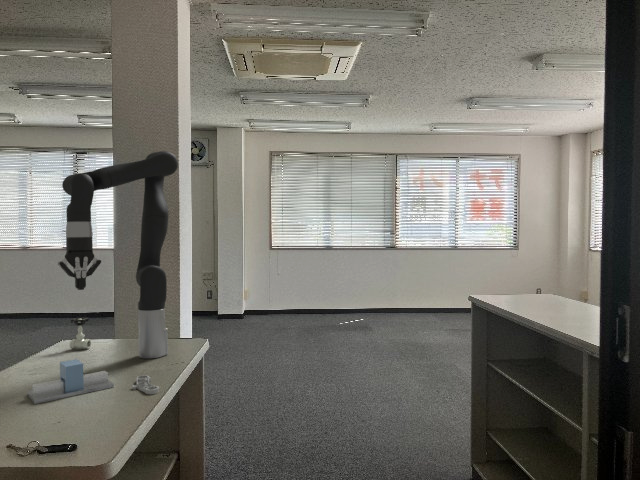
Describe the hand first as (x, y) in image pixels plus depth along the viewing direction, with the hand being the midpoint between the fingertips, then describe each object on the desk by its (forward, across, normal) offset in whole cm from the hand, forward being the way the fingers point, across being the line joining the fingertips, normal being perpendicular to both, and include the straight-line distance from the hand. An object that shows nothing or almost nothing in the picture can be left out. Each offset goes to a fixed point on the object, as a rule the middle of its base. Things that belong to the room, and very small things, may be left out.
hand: (80, 289), depth 150 cm
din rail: (+27, +7, +17) cm, 33 cm away
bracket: (+28, -10, +28) cm, 41 cm away
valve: (+27, -8, -34) cm, 44 cm away
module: (+26, +7, +17) cm, 32 cm away
